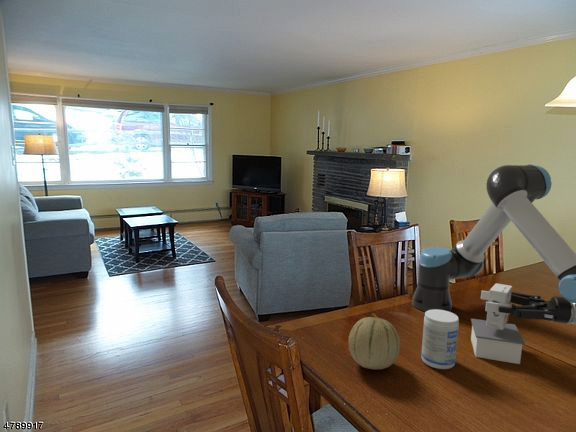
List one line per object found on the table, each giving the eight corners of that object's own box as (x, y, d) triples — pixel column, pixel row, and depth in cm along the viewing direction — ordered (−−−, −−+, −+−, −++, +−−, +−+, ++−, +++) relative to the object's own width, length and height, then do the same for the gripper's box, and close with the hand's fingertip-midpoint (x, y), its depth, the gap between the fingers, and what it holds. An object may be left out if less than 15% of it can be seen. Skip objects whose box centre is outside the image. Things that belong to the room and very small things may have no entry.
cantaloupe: (361, 384, 105) (363, 332, 102) (339, 356, 119) (340, 310, 116) (409, 376, 109) (413, 325, 106) (382, 350, 123) (385, 305, 120)
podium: (473, 357, 119) (475, 335, 118) (469, 338, 131) (471, 318, 130) (522, 365, 115) (524, 343, 114) (512, 344, 127) (515, 324, 126)
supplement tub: (452, 374, 110) (457, 325, 107) (417, 365, 115) (421, 317, 112) (456, 358, 118) (461, 313, 116) (424, 350, 123) (427, 306, 120)
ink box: (491, 316, 126) (495, 282, 124) (508, 321, 123) (512, 285, 121) (485, 325, 120) (488, 289, 118) (503, 330, 117) (507, 293, 115)
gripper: (580, 339, 105) (487, 326, 112) (554, 308, 125) (477, 299, 133) (584, 312, 104) (490, 301, 111) (557, 286, 124) (479, 278, 131)
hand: (483, 300), depth 122 cm, fingers closed on ink box, 9 cm apart
